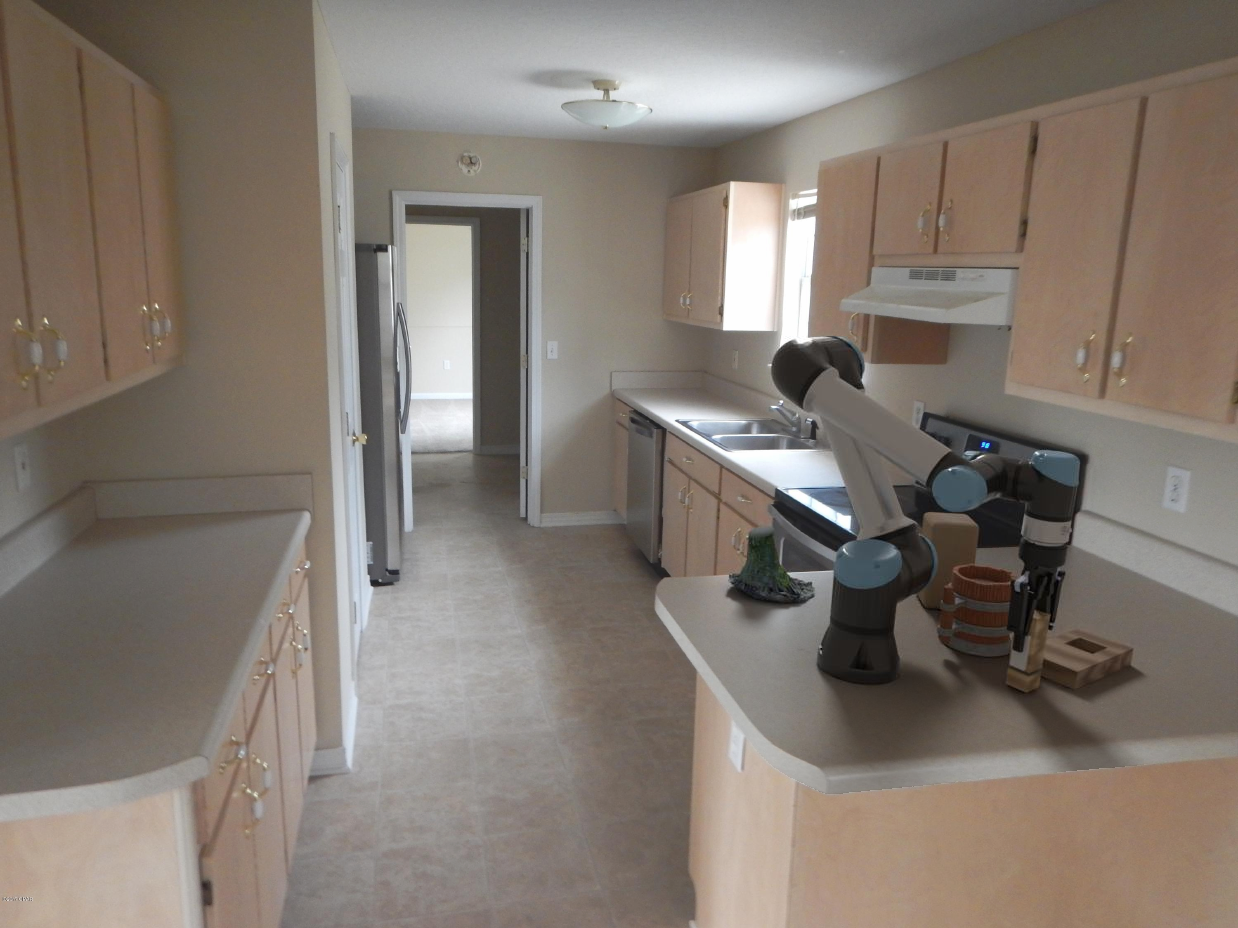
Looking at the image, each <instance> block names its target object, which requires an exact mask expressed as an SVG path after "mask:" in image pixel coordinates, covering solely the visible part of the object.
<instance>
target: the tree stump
mask: <svg viewBox="0 0 1238 928" xmlns="http://www.w3.org/2000/svg"><path fill="white" fill-rule="evenodd" d="M775 535H776V533H775V527H772V526H769V525H761V526H757V527H754V528H753V529H750V531H748V540H747V553H746V559H745V564H744V565H743V567H741V570H740V572H739V573H732V574H728V580H727V581H728V582H729V584H730V585H732V586H734V587H736V588H738V589H740V590H741V591H743V592H744V593H746V594H748V595H749V596H751V597H752V598H753V599H755V600H760V601H765V602H773V603H776V604H778V603H779V604H795V603H803V602H806V601H808V600H810V599H812V598H814V597H815V589H816V588H815V587H813V582H812V581H807V582H806V581H804V580H803V579H802V580H801V579H798V578H797V577H792V576H790V575H789V574H788V571H787V570H786V568H785V567H784V565H782V564H781V563H780V562H781V561H780V560H779V555H778V550H777V543H776V538H775V537H776V536H775Z"/></svg>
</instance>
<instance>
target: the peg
mask: <svg viewBox="0 0 1238 928" xmlns="http://www.w3.org/2000/svg"><path fill="white" fill-rule="evenodd" d="M1050 615H1051V614H1047V613H1044V612H1041V611H1039V610H1036V609H1035V611H1034V615H1033V619H1032V622H1031V626H1030V630H1029V633H1028V635H1031V640H1030V647H1029V653H1028V660H1027V666H1026V670H1024V671H1023V670H1021V669H1018V668H1016V667H1014V666H1011V665H1010V659H1011V652H1012V645H1013V639H1014V632H1012V636H1011V637H1012V638H1011V641H1012V644H1011V650H1010V653H1009V659H1008V664H1007V672H1006V677H1005V678H1006V679H1005V685H1008V686H1010V687H1011V688H1015V689H1017V690H1019V691H1022V692H1024V693H1029V692H1031V691H1033V690H1036V689H1038V688H1039V687H1040V681H1041V677H1042V676H1041V671H1042V664H1043V657H1044V651H1045V645H1046V640H1047V638H1048V632H1049V630H1048V626H1049V619H1050Z"/></svg>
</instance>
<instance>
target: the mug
mask: <svg viewBox="0 0 1238 928" xmlns="http://www.w3.org/2000/svg"><path fill="white" fill-rule="evenodd" d="M1013 578H1014V579H1017V580H1018V578H1017V575H1016V574H1013V573H1012V571H1010V570H1009V569H1005V568H1002V567H1001V568H998V567H993V566H992V565H986V564H985V565H982V564H975V565H974V564H968V565H961V566H956V567H954V568H953V573H952V581H951V583H950V584H949V585H945V586H944V596H943V600H942V601H941V604H940V608H941V609H940V611H941V612H940V613H941V615H940V621H939V624H938V625H937V630H936V633H937V634H938V635H937V637H938V639H939V642H940V644H942V645H946V646H948V647H949V648H950V649H953V650H954V651H957V652H960V653H963V654H967V655H969V656H970V655H971V656H973V657H974V656H976V657H981V658H997V657H998V658H999V657H1003V656H1006V655H1008V654H1009V655H1010V650H1011V644H1012V638H1011V637H1010V636H1011V634H1013V632H1011V631H1009V630H1007V622H1008V614H1009V606H1010V598H1011V584H1010V583H1011V580H1012V579H1013Z"/></svg>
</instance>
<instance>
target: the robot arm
mask: <svg viewBox="0 0 1238 928" xmlns="http://www.w3.org/2000/svg"><path fill="white" fill-rule="evenodd" d="M865 369H866V364H865V358H864V356H863V354H862V352H861V349H860V348H859V347H858V346H857V345H856V344H855V343H854V342H852V341H851V340H850V339H847V338H845V337H841V336H836V335H829V334H828V335H822V336H815V337H814V336H813V337H800V338H794V339H791V340H788V341H786V342H785V343H784V344H783V345H781V346H780V347H779V348H778V350H776V352H775V354H774V355H773V358H772V361H771V366H770V374H771V380H772V383H773V384H774V386H775V387H776V389H777V390H778V391H779V393H780V394H781V395H782V396H783V397H784V398H786V399H787V401H788V400H789V401H790V402H791V403H792V404H794V405H795V406H797V407H798V408H800V409H801V410H802V411H804V412H805V413H807V414H811V413H812V414H814V415H816V416H818V417H819V419H820V421H821V424H822V427H823V430H824V432H825V435H826V438H827V441H828V443H829V446H830V448H831V451H832V455H833V456H834V459H835V463H836V465H837V467H838V470H839V473H840V475H841V479H842V481H843V484H844V487H845V489H846V492H847V494H848V495H847V496H848V498H849V501H850V503H851V505H852V508H853V511H854V514H855V517H856V519H857V522H858V525H859V527H860V528H859V529H860V531H859V533H858V535H857V537H856V539H855V540H851V541H848V542H845V543H844V544H842V546H840V547H839V548H838V550H837V551H836V554H835V561H834V563H833V570H832V571H833V578H832V592H831V600H830V601H831V602H830V603H831V604H830V605H831V606H830V617H829V624H828V626H827V628H826V631H825V633H824V635H823V637H822V639H821V643H819V646H818V649H817V655H816V663H817V665H818V667H819V668H820V669H821V670H822V671H824V672H825V673H826V674H827V675H829V676H833V677H835V678H837V679H840V680H843V681H847V682H851V683H857V684H867V685H873V684H875V685H878V684H884V683H889V682H891V681H894V680H896V679H897V678H898V677H899V676H900V673H901V671H900V670H901V657H900V654H899V652H898V646H897V642H896V641H897V640H896V638H895V623H896V622H895V621H896V614H897V606H898V604H899V603H901V602H903V601H904V600H906V599H908V598H910V597H912V596H913V595H917V593H919V592H921V591H922V590H923V589H925V588H926V586H927V585H929V584H930V583H931V581H932V580H933V579H934V577H935V575H936V572H937V569H938V556H937V553H936V550H935V548H934V546H933V544H932V543H931V542H930V541H929V540H928V539H927V538H925V537H924V536H922V535H921V534H919V532H918V530H917V527H916V524H915V522H914V521H915V520H913V519H912V518H910V517H907V516H905V515H904V513H903V510H902V507H901V504H900V502H899V500H898V497H897V494H896V491H895V489H894V488H895V487H894V486H893V483H892V481H891V478H890V475H889V472H888V470H887V468H886V465H885V462H884V459H885V460H886V461H888V462H889V463H891V464H892V465H894V466H895V467H897V468H899V469H900V470H902V472H904V473H906V474H907V475H909V476H911V477H912V478H913V479H915V480H916V481H918V482H919V483H920V484H921V485H923V486H925V488H928V489H929V490H931V492H932V496H933V498H934V499H935V501H936V504H937V505H938V506H939V507H940V508H942V509H943V510H946V511H948V512H949V513H950V512H951V513H962V512H966V511H972V510H974V509H976V508H979V507H980V506H981V505H983V504H984V503H987V502H990V501H991V500H994V499H996V498H997V499H998V498H999V499H1004V500H1009V501H1014V502H1017V503H1018V502H1019V503H1024V504H1025V505H1024V506H1025V508H1024V511H1023V513H1024V514H1023V515H1024V516H1023V520H1022V527H1021V530H1020V531H1021V532H1020V535H1022V537H1021V538H1020V541H1019V547H1018V556H1017V557H1018V559H1019V560H1021V561H1022V562H1023V564H1024V565H1023V568H1022V570H1021V574H1020V575H1021V576H1020V577H1019V578H1017V579H1014V578H1013V579H1012V580H1011V583H1010V584H1011V598H1010V606H1009V614H1008V622H1007V630H1009V631H1011V632H1012V633H1013V632H1014V639H1013V645H1012V652H1011V659H1010V665H1011V666H1014V667H1016V668H1018V669H1021V670H1023V671H1024V670H1026V666H1027V660H1028V653H1029V647H1030V640H1031V635H1028V633H1029V630H1030V626H1031V622H1032V619H1033V615H1034V611H1035V609H1036V610H1039V611H1041V612H1044V613H1047V614H1050V619H1049V626H1048V631H1053V630H1054V625H1052V624H1055V623H1056V618H1057V615H1058V608H1059V603H1060V598H1061V597H1060V596H1061V591H1062V588H1063V587H1062V586H1063V582H1064V579H1065V576H1066V571H1065V570H1062V569H1059V568H1061V567H1063V566H1065V564H1066V561H1067V554H1068V545H1067V543H1068V542H1069V541H1070V534H1071V533H1072V531H1073V530H1072V527H1071V525H1072V520H1073V515H1074V514H1073V513H1074V507H1075V501H1076V497H1077V491H1078V486H1079V484H1080V481H1079V477H1080V476H1079V475H1080V466H1081V462H1080V459H1079V457H1077V456H1076V455H1075V454H1072V453H1070V452H1065V451H1059V450H1049V449H1042V450H1041V449H1039V450H1036V451H1035V452H1034V453H1033V454H1032V457H1031V459H1026V458H1025V459H1023V458H1018V457H1013V456H1008V455H1007V456H1006V455H1001V454H996V453H991V452H988V451H978V450H977V451H975V450H967V451H965V452H964V453H963V454H962V455H960V454H958V453H956V452H955V451H953V450H952V449H950V448H949V447H948V446H946V445H945V444H943V443H942V442H940V441H938V440H936V439H935V438H934V437H932V436H931V435H929V434H928V433H926V432H924V431H923V430H921V429H920V428H918V427H916V426H915V425H914V424H912V423H910V422H909V421H907V420H906V419H904V418H903V417H901V416H900V415H898V414H896V413H895V412H893V411H891V410H890V409H889V408H887V407H886V406H884V405H882V404H881V403H880V402H878V401H877V400H874V399H873V398H871V397H870V396H868V395H867V394H866V389H865V386H864V383H863V380H862V379H863V378H864V377H863V376H864V373H865Z"/></svg>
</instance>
